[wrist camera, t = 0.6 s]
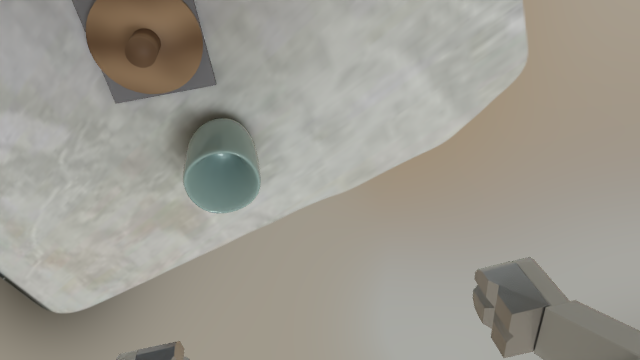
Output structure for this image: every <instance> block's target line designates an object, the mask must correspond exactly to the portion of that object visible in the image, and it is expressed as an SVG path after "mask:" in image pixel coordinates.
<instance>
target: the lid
mask: <svg viewBox="0 0 640 360" xmlns="http://www.w3.org/2000/svg"><path fill="white" fill-rule="evenodd" d="M86 38H87V43H88V47H89V49H90V52H91V54H92V56H93V58H94V60H95V62H96V63H97V65H98V66H99V67H100V68H101V70H102V71H103V72H104V73H105V74H106V75H107V76H108V77H109V78H111V79H112V80H113V81H115V82H116V83H118V84H119V85H121V86H123V87H125V88H127V89H129V90H132V91H135V92H139V93H145V94H162V93H167V92H171V91H173V90H176V89H178V88H180V87H182V86H183V85H184V84H186V83H187V82H188V81H189V80H190V79H191V78H192V77H193V76H194V74H195V73H196V71H197V69H198V67H199V65H200V62H201V58H202V53H203V37H202V32H201V28H200V26H199V23H198V21H197V19H196V17H195V15H194V14H193V12H192V10H191V9H190V8H189V7H188V6H187V4H186V3H185V2H184V1H183V0H96V2H95V3H94V4H93V6H92V8H91V9H90V12H89V14H88V18H87V22H86Z"/></svg>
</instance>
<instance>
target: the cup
mask: <svg viewBox="0 0 640 360" xmlns="http://www.w3.org/2000/svg"><path fill="white" fill-rule="evenodd" d="M260 182H261V177H260V169H259V162H258V156H257V151H256V147H255V145H254V142H253V139H252V137H251V136H250V134H249V132H248V131H247V130H246V129H245V127H244V126H242V125H241V124H240V123H239V122H237V121H235V120H232V119H228V118H219V119H214V120H211V121H208V122H206V123H204V124H203V125H202V126H200V127H199V128H198V129H197V130H196V131H195V132H194V134H193V136H192V138H191V139H190V142H189V145H188V148H187V153H186V158H185V164H184V171H183V183H184V187H185V190H186V192H187V194H188V196H189V197H190V199H191V200H192V201H193V202H194V203H195V204H196V205H197V206H198V207H200V208H202V209H203V210H206V211H208V212H212V213H228V212H233V211H236V210H239V209H241V208H243V207H245V206H246V205H248V204H250V203H251V202H252V201H253V200H254V199H255V197H256V196H257V194H258V192H259V189H260Z"/></svg>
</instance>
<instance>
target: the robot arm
mask: <svg viewBox="0 0 640 360" xmlns="http://www.w3.org/2000/svg"><path fill="white" fill-rule="evenodd" d="M475 281H476V282H477V284H478V285H477V287H476V288H475V289H474V290H473V301H474V306H475V309H476V312H477V314H478V316H479V318H480V320H481V321H482V323H483V324H485V325H487V326H488V327H490V328H492V333H491V338H492V340H493V341H494V343H495V344H496V346H497V348H498V349H499V351H500V353H501V354H502V356H503V358H506V357H511V356H515V355H520V354H524V353H529V352H533V351H534V353H535V354H536V355H538V356H539V357H541V358H542V359H543V360H640V331H639V330H637V329H635V328H633V327H631V326H629V325H626V324H624V323H622V322H620V321H618V320H616V319H614V318H611V317H610V316H608V315H605V314H603V313H601V312H599V311H597V310H595V309H593V308H590V307H589V306H587V305H584V304H582V303H580V302H578V301H576V300H574V301H569V300H568V298H567V297H566V296H565V295H564V294H563V293H562V291H561V290H560V289H559V288H558V287H557V286H556V284H555V283H554V282H553V281H552V280H551V279H550V278H549V276H548V275H547V274H546V273H545V272H544V270H543V269H542V268H541V267H540V266H539V265H538V264H537V263H536V261H535V260H534V259H532V258H531V257H528V258H523V259H519V260H515V261H512V262H510V261H509V262H505V263H501V264H497V265H493V266H489V267H485V268H481V269H478V270H477V271H476V272H475ZM116 360H190V359H189V358H186V357H184V347H183V346H182V344H181V342H180V341H178V342H173V343H168V344H163V345H159V346H154V347H149V348H144V349H140V350H135V351H131V352H127V353H123V354H119V356H118V357H117V359H116Z"/></svg>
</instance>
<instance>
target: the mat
mask: <svg viewBox="0 0 640 360" xmlns="http://www.w3.org/2000/svg"><path fill="white" fill-rule="evenodd" d="M72 1H73V4H74V6H75V8H76V11H77V13H78V15H79V18H80V20H81V23H82V25H83V27H84V30H85V32H86V22H87V18H88V14H89V12H90V9H91V8H92V6H93V4H94V3H95V2H96V0H72ZM183 1H184V2H185V3H186V4H187V6H188V7H189V8H190V9H191V10H192V12H193V14H194V15H195V17H196V19H197V21H198V23H199V26H200V22H199V18H198V15H197V11H196V7H195V4H194V0H183ZM200 28H201V26H200ZM201 32H202V29H201ZM202 37H203V33H202ZM102 72H103V71H102ZM103 74H104V77H105V79H106V82H107V84H108V86H109V89H110V91H111V93H112V96H113V98H114V100H115V103H121V102H127V101H132V100H137V99H143V98H148V97H154V96H159V95H164V94H170V93H175V92H180V91H186V90H191V89H197V88H202V87H207V86H213V85H216V81H215V77H214V73H213V70H212V66H211V62H210V59H209V55H208V51H207V48H206V44H205V40H204V37H203V53H202V58H201V62H200V65H199V67H198V69H197V71H196V73H195V74H194V76H193V77H192V78H191V79H190V80H189V81H188V82H187V83H186V84H184V85H183V86H182V87H180V88H178V89H176V90H173V91H171V92H167V93H162V94H145V93H139V92H135V91H132V90H129V89H127V88H125V87H123V86H121V85H119V84H118V83H116V82H115V81H113V80H112V79H111V78H109V77H108V76H107V75H106V74H105V73H104V72H103Z"/></svg>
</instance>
